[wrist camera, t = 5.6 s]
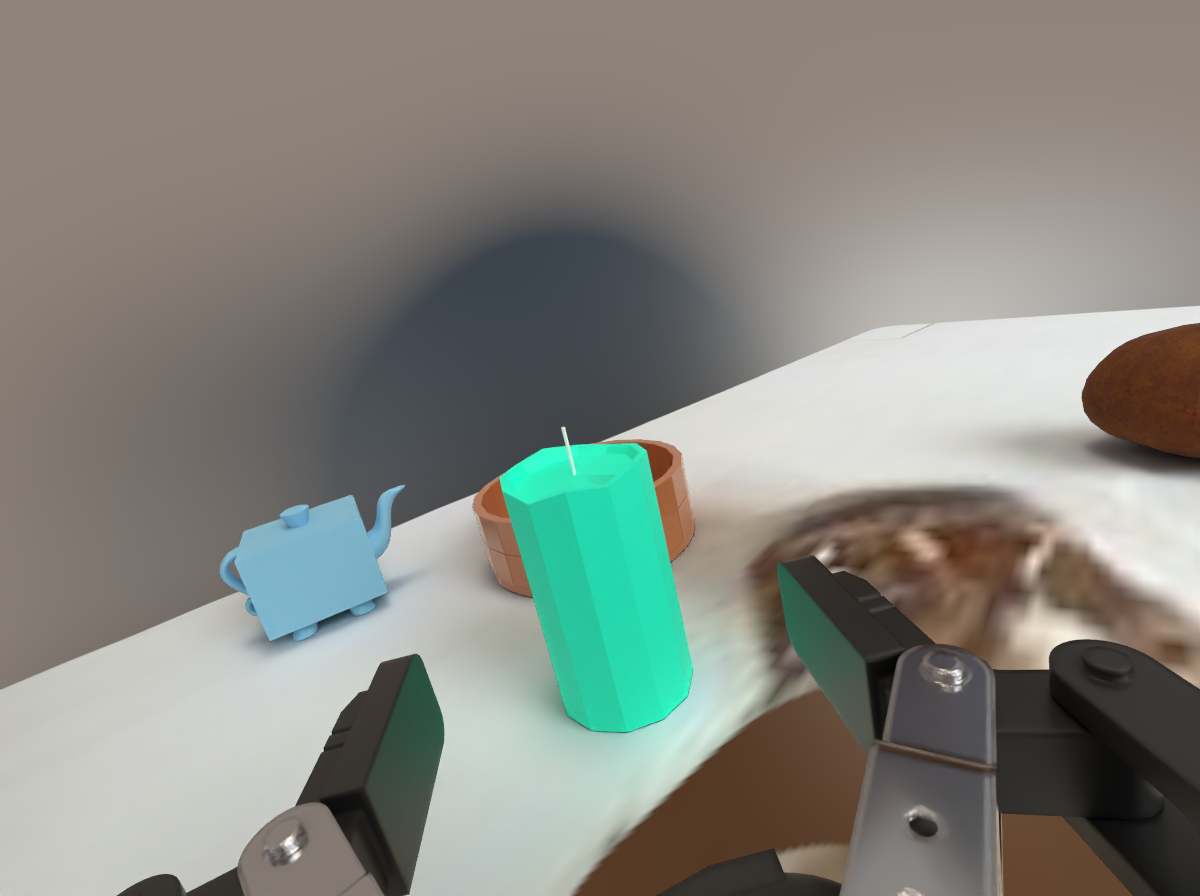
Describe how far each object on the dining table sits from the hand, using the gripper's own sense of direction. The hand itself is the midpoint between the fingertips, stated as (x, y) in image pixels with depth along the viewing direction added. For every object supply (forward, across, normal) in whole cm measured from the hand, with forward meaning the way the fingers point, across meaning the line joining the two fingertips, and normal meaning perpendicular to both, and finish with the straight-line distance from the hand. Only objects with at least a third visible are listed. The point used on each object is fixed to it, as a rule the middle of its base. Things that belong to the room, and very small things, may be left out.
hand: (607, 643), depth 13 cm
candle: (+11, 0, +10) cm, 15 cm away
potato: (+18, -35, +10) cm, 41 cm away
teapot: (+26, +18, +10) cm, 33 cm away
